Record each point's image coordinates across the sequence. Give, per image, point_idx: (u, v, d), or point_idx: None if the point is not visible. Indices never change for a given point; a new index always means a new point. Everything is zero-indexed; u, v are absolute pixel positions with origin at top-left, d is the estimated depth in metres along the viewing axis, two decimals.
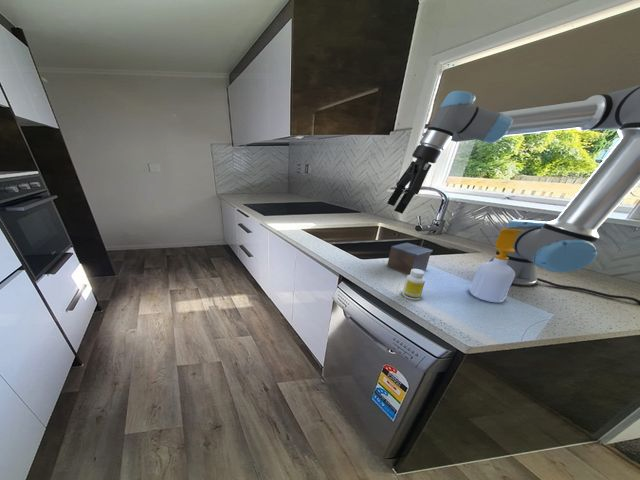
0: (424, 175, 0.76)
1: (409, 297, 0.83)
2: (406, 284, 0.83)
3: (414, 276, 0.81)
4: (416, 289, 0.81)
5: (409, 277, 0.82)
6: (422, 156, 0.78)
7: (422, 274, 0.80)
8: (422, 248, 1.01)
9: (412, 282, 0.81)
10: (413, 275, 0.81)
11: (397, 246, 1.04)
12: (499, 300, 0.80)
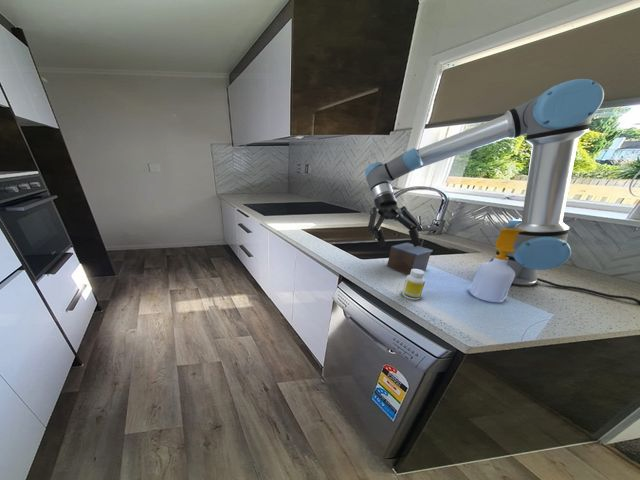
0: (372, 215, 0.92)
1: (409, 297, 0.83)
2: (406, 284, 0.83)
3: (414, 276, 0.81)
4: (416, 289, 0.81)
5: (409, 277, 0.82)
6: (376, 207, 0.96)
7: (422, 274, 0.80)
8: (422, 248, 1.01)
9: (412, 282, 0.81)
10: (413, 275, 0.81)
11: (397, 246, 1.04)
12: (499, 300, 0.80)
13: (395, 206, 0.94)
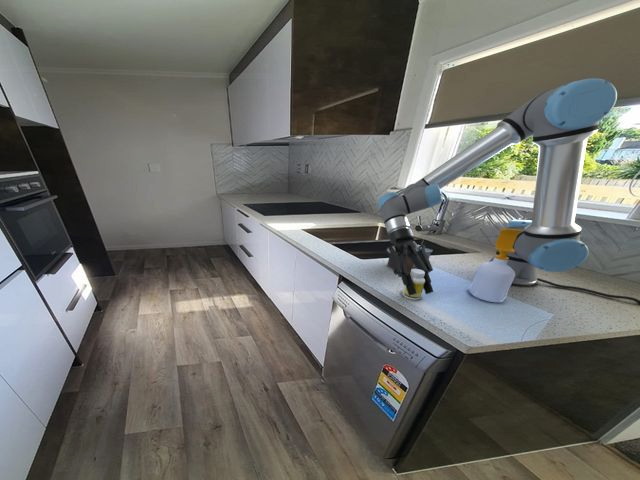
0: (393, 256, 0.84)
1: (409, 297, 0.83)
2: None
3: (414, 276, 0.81)
4: (416, 289, 0.81)
5: None
6: None
7: (422, 274, 0.80)
8: None
9: None
10: (413, 275, 0.81)
11: None
12: (499, 300, 0.80)
13: (412, 242, 0.86)
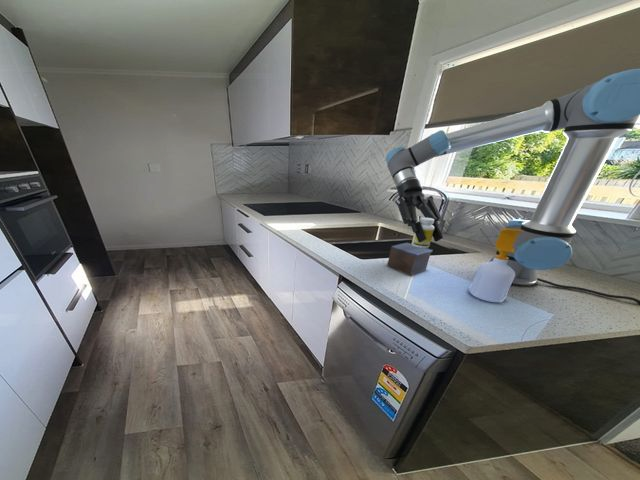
0: (402, 206, 0.85)
1: (418, 246, 0.84)
2: None
3: (424, 223, 0.82)
4: (426, 236, 0.82)
5: None
6: (399, 194, 0.90)
7: (432, 220, 0.81)
8: (422, 248, 1.01)
9: None
10: (423, 222, 0.82)
11: (397, 246, 1.04)
12: (499, 300, 0.80)
13: (420, 193, 0.88)
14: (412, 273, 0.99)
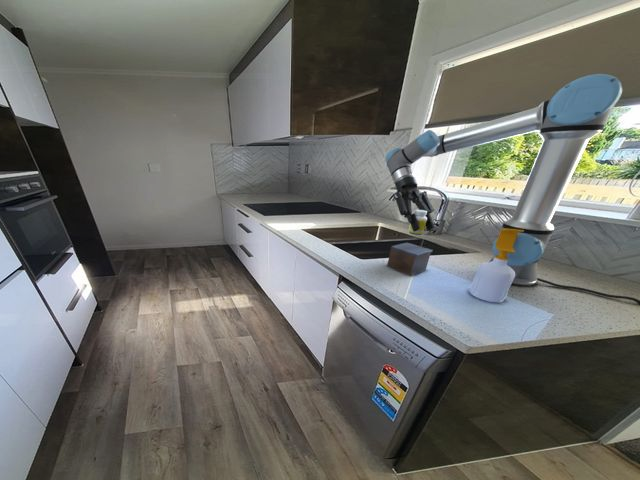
0: (399, 200, 0.98)
1: (413, 234, 0.97)
2: None
3: (418, 215, 0.94)
4: None
5: None
6: (397, 190, 1.03)
7: (425, 212, 0.93)
8: (422, 248, 1.01)
9: None
10: (417, 214, 0.95)
11: (397, 246, 1.04)
12: (499, 300, 0.80)
13: (416, 188, 1.00)
14: (412, 273, 0.99)
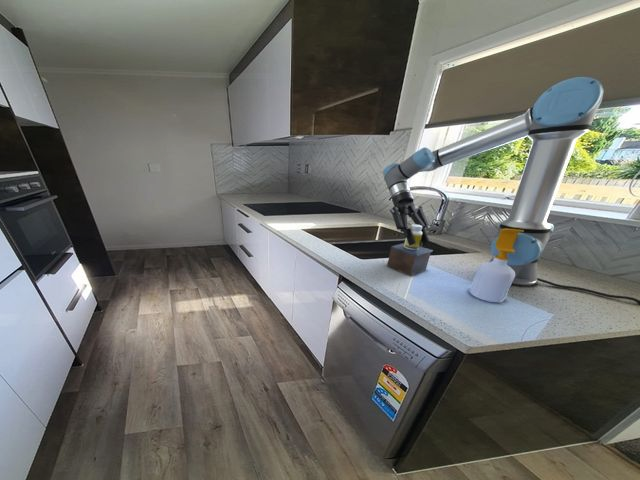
0: (396, 215, 1.01)
1: (409, 248, 1.00)
2: None
3: (413, 229, 0.98)
4: (415, 240, 0.98)
5: None
6: (394, 204, 1.06)
7: (420, 227, 0.97)
8: (422, 248, 1.01)
9: None
10: (413, 229, 0.98)
11: (397, 246, 1.04)
12: (499, 300, 0.80)
13: (412, 203, 1.03)
14: (412, 273, 0.99)
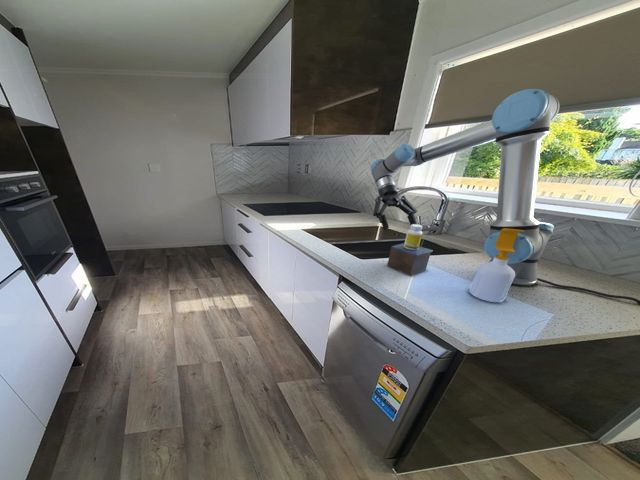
0: (377, 203, 1.11)
1: (409, 248, 1.00)
2: (407, 237, 1.00)
3: (413, 229, 0.98)
4: (415, 240, 0.98)
5: (409, 231, 0.99)
6: (380, 196, 1.15)
7: (420, 227, 0.97)
8: (422, 248, 1.01)
9: (411, 234, 0.98)
10: (413, 229, 0.98)
11: (397, 246, 1.04)
12: (499, 300, 0.80)
13: (396, 195, 1.13)
14: (412, 273, 0.99)
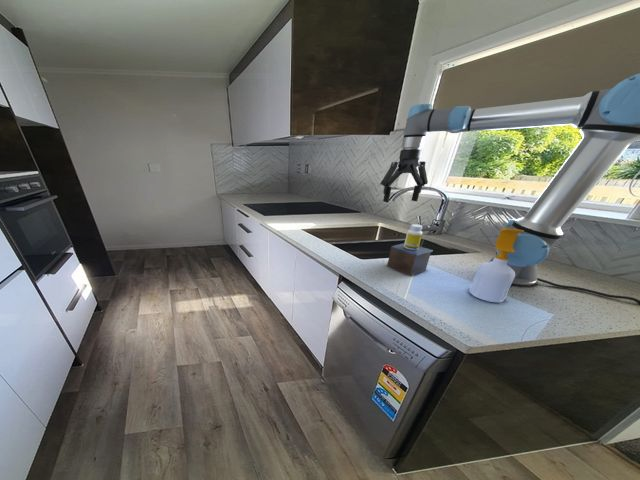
0: (391, 170, 1.00)
1: (409, 248, 1.00)
2: (407, 237, 1.00)
3: (413, 229, 0.98)
4: (415, 240, 0.98)
5: (409, 231, 0.99)
6: (399, 157, 1.01)
7: (420, 227, 0.97)
8: (422, 248, 1.01)
9: (411, 234, 0.98)
10: (413, 229, 0.98)
11: (397, 246, 1.04)
12: (499, 300, 0.80)
13: (416, 161, 1.00)
14: (412, 273, 0.99)
